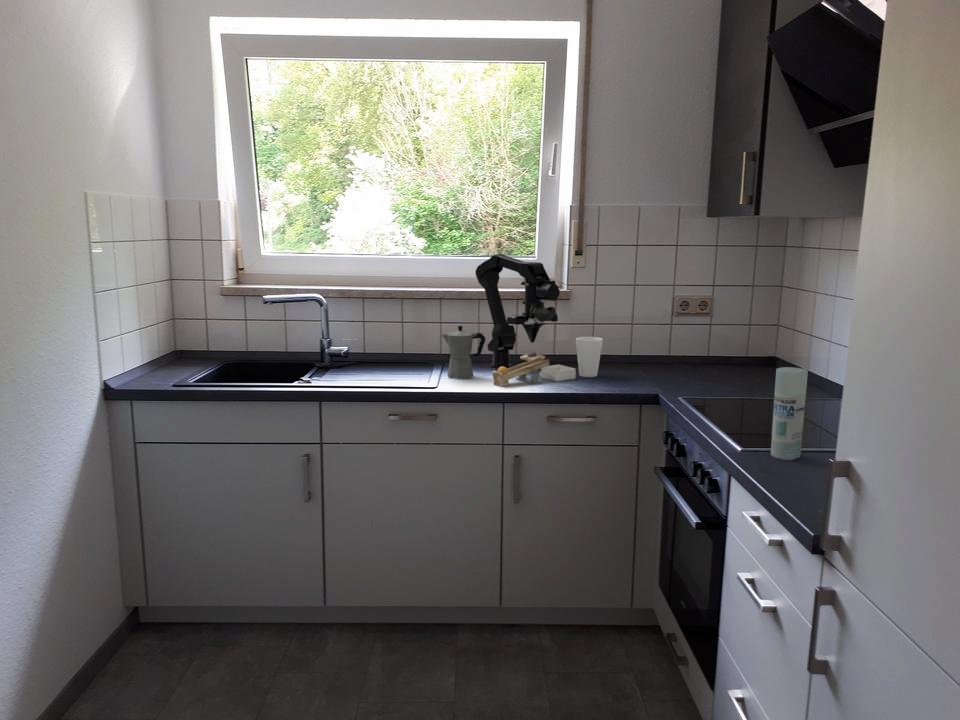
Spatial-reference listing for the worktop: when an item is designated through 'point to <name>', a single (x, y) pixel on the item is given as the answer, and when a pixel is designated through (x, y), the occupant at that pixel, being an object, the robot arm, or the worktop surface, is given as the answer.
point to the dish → (557, 372)
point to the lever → (521, 368)
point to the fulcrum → (532, 380)
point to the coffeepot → (462, 352)
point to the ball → (502, 370)
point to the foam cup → (588, 355)
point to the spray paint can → (788, 412)
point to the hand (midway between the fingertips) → (532, 342)
